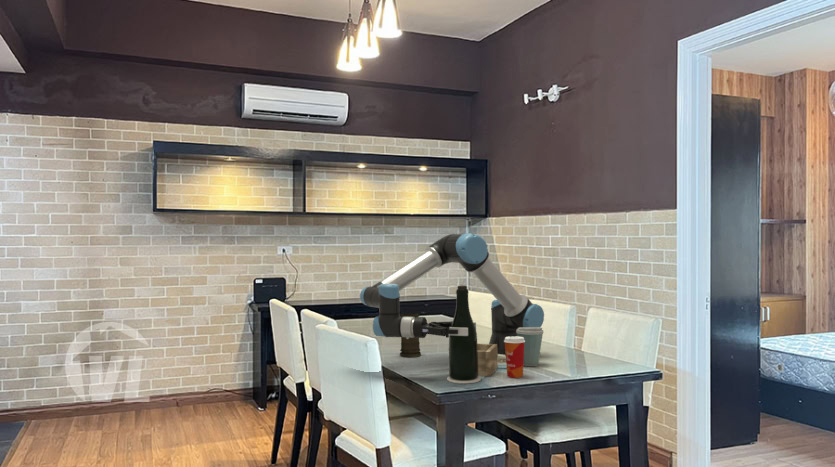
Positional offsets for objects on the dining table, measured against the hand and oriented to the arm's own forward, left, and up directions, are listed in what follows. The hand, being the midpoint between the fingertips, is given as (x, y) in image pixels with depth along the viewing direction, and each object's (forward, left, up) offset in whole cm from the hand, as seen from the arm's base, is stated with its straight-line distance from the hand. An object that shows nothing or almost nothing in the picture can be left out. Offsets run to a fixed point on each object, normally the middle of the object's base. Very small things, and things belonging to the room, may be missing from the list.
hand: (472, 328), depth 227 cm
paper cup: (-16, -4, -18) cm, 25 cm away
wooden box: (-2, -15, -18) cm, 24 cm away
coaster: (+3, -1, -18) cm, 18 cm away
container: (+20, -49, -18) cm, 56 cm away
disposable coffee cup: (-26, -23, -18) cm, 39 cm away
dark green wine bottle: (+3, -1, -18) cm, 18 cm away
